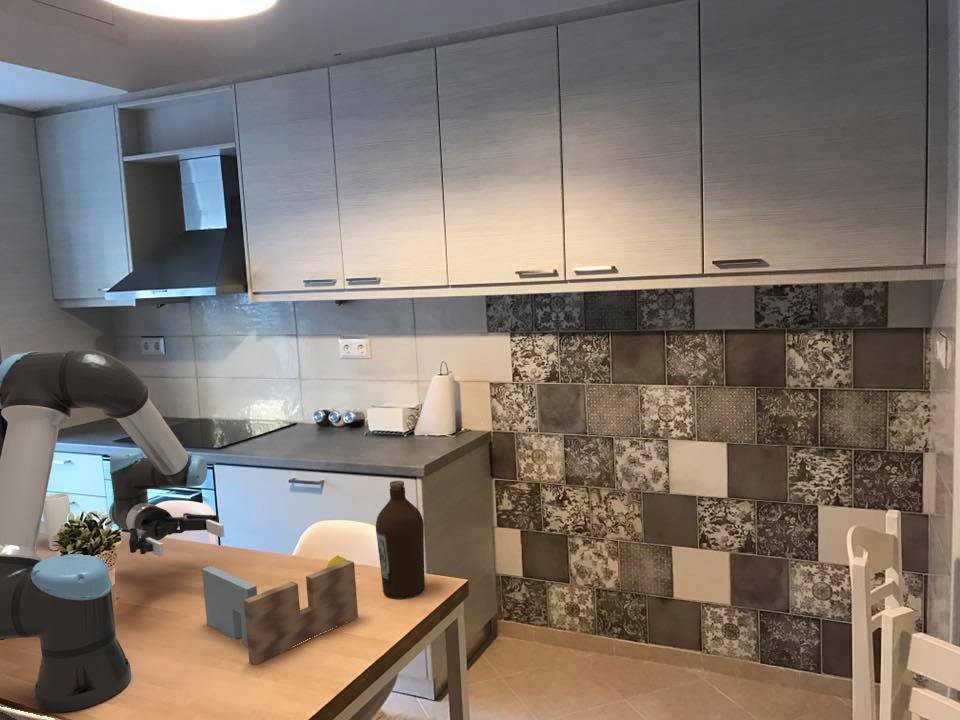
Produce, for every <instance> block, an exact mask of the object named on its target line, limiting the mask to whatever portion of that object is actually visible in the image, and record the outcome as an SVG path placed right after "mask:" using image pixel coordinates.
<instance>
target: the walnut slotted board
mask: <svg viewBox="0 0 960 720" xmlns="http://www.w3.org/2000/svg"><path fill="white" fill-rule="evenodd" d="M346 560H347V561H344V562H342V563H339V564H336V565H334V566H331V567H328V568H327V567H326V568H324V569H321V570H319V571H316V572H313V573H310V574H308V575H306V576H305V580H306V581H305V582H306V594H307V595H306V596H307V607H304V608H302V609H301V606H300V595H299V594H300V593H299V584H298V583H297V582H294V581H290V582H287V583H284V584H282V585H279V586H276V587H274V588H272V589H269V590H266V591H264V592H261V593H257V595H255V596H253V597H250V598H248V599H245V600H244V610H245V621H246V632H247V643H248V646H247V651H248V662H249V663H251V664H252V665H254V666H256V665H258V664H261V663H262V662H265V661H267V660H269V659H271V658H274V657H275V656H278V655H280V654H282V653H285V652H287V651H288V650H287V649H289V650H291V649H292V647H293V646H295V645H297V644H299V643H301V642H303V641H305V640H307V639H309V638H312V637H314V636H316V635H319V634H320V633H323V632H325V631H328V630H330V629H332V628H335V627H336V626H339V625H341V626H343V625H345V624H347V623H346V622H348V623H350V622H352V621H354V620H356V619H358V618H359V612H358V609H359V608H358V599H357V585H356V584H357V583H356V570H355V562H354V561H352V560H349V559H346ZM353 619H354V620H353ZM349 621H350V622H349ZM344 623H345V624H344ZM342 624H343V625H342ZM339 627H340V626H339ZM335 629H336V628H335ZM332 630H333V629H332ZM330 631H331V630H330ZM328 632H329V631H328ZM319 636H320V635H319ZM295 647H296V646H295ZM290 648H291V649H290ZM293 648H294V647H293ZM286 650H287V651H286ZM284 651H285V652H284ZM279 653H280V654H279Z"/></svg>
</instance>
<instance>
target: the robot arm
mask: <svg viewBox="0 0 960 720" xmlns="http://www.w3.org/2000/svg"><path fill="white" fill-rule="evenodd" d="M149 397H150V390H149V388H148V386H147V384H146V383H145V382H144V380H143V379H142V378H141V376H139V375H138V373H137V372H135V371H134V370H133V369H132V368H131V367H130V366H128V365H127V364H125V363H124V362H122V361H121V360H120V359H118V358H116V357H114V356H112V355H110V354H107V353H105V352H103V351H100V350H94V349H90V348H89V349H85V348H84V349H83V348H82V349H75V350H71V349H70V350H55V351H53V350H52V351H37V350H36V351H34V350H32V351H27V352H25V353H16V354H13V355H11V356H9V357H6V358H5V359H4V360H2V362H1V364H0V409H1V411H0V414H1V416H2V417H3V419H4V420H5V421H6V422H7V428H6V431H5V436H4V440H3V445H2V449H1V455H0V640H5V639H24V638H25V639H26V638H39V644H40V651H41V658H40V659H41V660H40V666H39V670H38V676H37V681H36V683H35V686H34V689H33V690H34V691H33V695H34V702H35V705H36V707H37V708H38V709H39V710H41V711H44V712H48V713H49V712H50V713H67V712H72V711H74V712H75V711H77V710H83V709H86V708H88V707H92V706H95V705H98V704H100V703H103V702H105V701H107V700H109V699H110V698H112V697H114V696H116V695H118V694H119V693H120V692H122V691H123V690H124V689H125V688H126V687H127V686H128V685H129V683H130V682H131V680H132V671H131V664H130V661H129V659H128V658H127V657H126V654H125V653H124V652H125V651H124V650H123V648H122V646H121V644H120V642H119V640H118V638H117V633H116V623H115V613H114V605H113V604H114V603H113V601H114V600H113V593H112V586H113V585H112V584H113V583H112V580H111V577H110V571H109V568H108V565H107V563H106V562H105V561H104V560H103V559H102V558H100V557H95V556H91V555H83V554H80V553H72V554H64V555H62V556H61V555H60V556H59V555H56V556H52V557H48V558H45V559H43V560H42V558H41V557H40V556H39V555H38V553H37V552H36V550H37V549H36V548H37V543H38V538H39V533H40V528H41V524H42V523H41V522H42V518H43V508H44V503H45V498H46V496H47V493H48V492H47V491H48V488H49V487H48V486H49V482H50V476H51V471H52V465H53V461H54V456H55V451H56V446H57V442H58V435H59V430H60V428H62V427H64V426H66V425H67V424H68V423H70V419H71V413H72V410H75V409H84V408H86V409H87V408H89V409H90V408H92V409H97V410H100V411H102V412H103V413H104V414H105V416H106V417H109V418H111V419H114V420H116V421H117V422H118V423H119V424H120V425H121V427H122V428H123V430H125V432H126V433H127V435H128V436H129V437H130V438H131V439H132V441H133V442H134V443H135V444H136V445H137V447H138V448H139V449H138V448H137V449H136V448H129V449H122V450H119V451H116V452H114V453H112V454H111V455H110V456H109V474H110V480H111V481H110V482H111V487H112V488H111V489H112V496H113V497H112V498H113V501H112V503H111V505H110V507H109V510H108V516H110V519H111V520H112V522H113V523H115V524H114V525H116V526H117V527H118V528H119V527H120V528H122V530H126V531H128V533H129V540H128V545H129V546H128V547H129V553H130V554H134V553H136V552H137V551H138V550H139V552H140V555H145V554H147V553H152V554H154V555H155V556H157V557H159V558H162V557H165V551H164V550H165V549H164V543H162V542H161V541H160V540H162V539H164V538H165V537H166V536H170V535H172V534H173V535H174V534H183V533H184V532H192V531H206V532H207V533H209V534H211V535H213V536H216V537H219V538H220V539H221V538H224V537H225V528H224V524H222V523H220V516H219V515H218V514H216V515H215V514H214V515H213V514H197V513H196V514H195V513H194V514H193V513H189V512H188V513H187V512H185V513H183V514H182V516H178V517H176V516H175V517H173V516H172V515H171V513H170V512H169V511H168V510H167V509H164V508H161V507H159V506H158V505H154V504H152V503H150V502H149V495H148V493H149V492H148V490H156V489H157V490H158V489H159V490H160V489H177V488H178V489H179V488H187V489H188V488H191V487H192V488H193V487H199V486H200V487H201V486H202V485H203V484H204V483H205V482H206V480H207V476H208V465H207V460H206V458H205V457H204V456H202V455H200V454H199V455H195V454H192V455H190V454H189V453H188V451H186V449H185V448H184V447H183V445H182V444H181V442H180V441H179V439H178V438H177V436H176V435H175V434H174V432H173V431H172V430H171V428H170V426H169V425H168V424H167V422H166V421H165V420H164V418H163V416H162V415H161V413H160V412H159V411H158V409H157V408H156V406H155V405H154V403H153V402H152V401H151V400H150V398H149ZM145 456H146V457H145Z"/></svg>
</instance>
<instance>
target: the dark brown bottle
mask: <svg viewBox="0 0 960 720" xmlns="http://www.w3.org/2000/svg"><path fill="white" fill-rule="evenodd" d="M404 486H405V481H404V480H393V481H391V482H389V487H390V488H389V497H390V499H389V500H388V502H386V505H384V507H383V508H382V509H381V510H380V512H379V513H378V516H377V517H376V522H375V533H376V535H375V536H376V541H377V548H378V549H377V550H378V556H379V557H378V558H379V565H380V575H381V576H380V577H381V586H382V591H383V592H382V593H383V595H384V596H385V597H387V598H389V599H395V600H403V599H410V598H415V597H418V596H419V595H421V594H423V592H425V588H426V585H425V584H426V582H425V579H426V577H425V549H424V548H425V545H424V544H425V543H424V542H425V541H424V540H425V539H424V538H425V537H424V535H425V532H424V531H425V529H424V526H425V525H424V519H423V516H422V514H421V512H420V510H419V509H418V508H417V507H416V506H415V505H413V504H412V502H410V501H409V500H408V499H407V498H406V487H404Z"/></svg>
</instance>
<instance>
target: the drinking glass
mask: <svg viewBox="0 0 960 720" xmlns="http://www.w3.org/2000/svg"><path fill="white" fill-rule="evenodd" d="M70 505H71V504H70V499H69V494H68V493H67V492H66V493H65V492H64V493H62V492H61V493H53V494H48V495H46V498H45V503H44V508H43V513H42V518H43V522H44V528H45V532H46V536H47V540H48V547H49V549H50V548H54V546H52V544H51V542H52V538H53V536H55V535H56V534H57V532H58V531H59V530H60V529H61V525H64V524H66V522H67V516H68V514H69V513H70V514H71V507H70Z"/></svg>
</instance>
